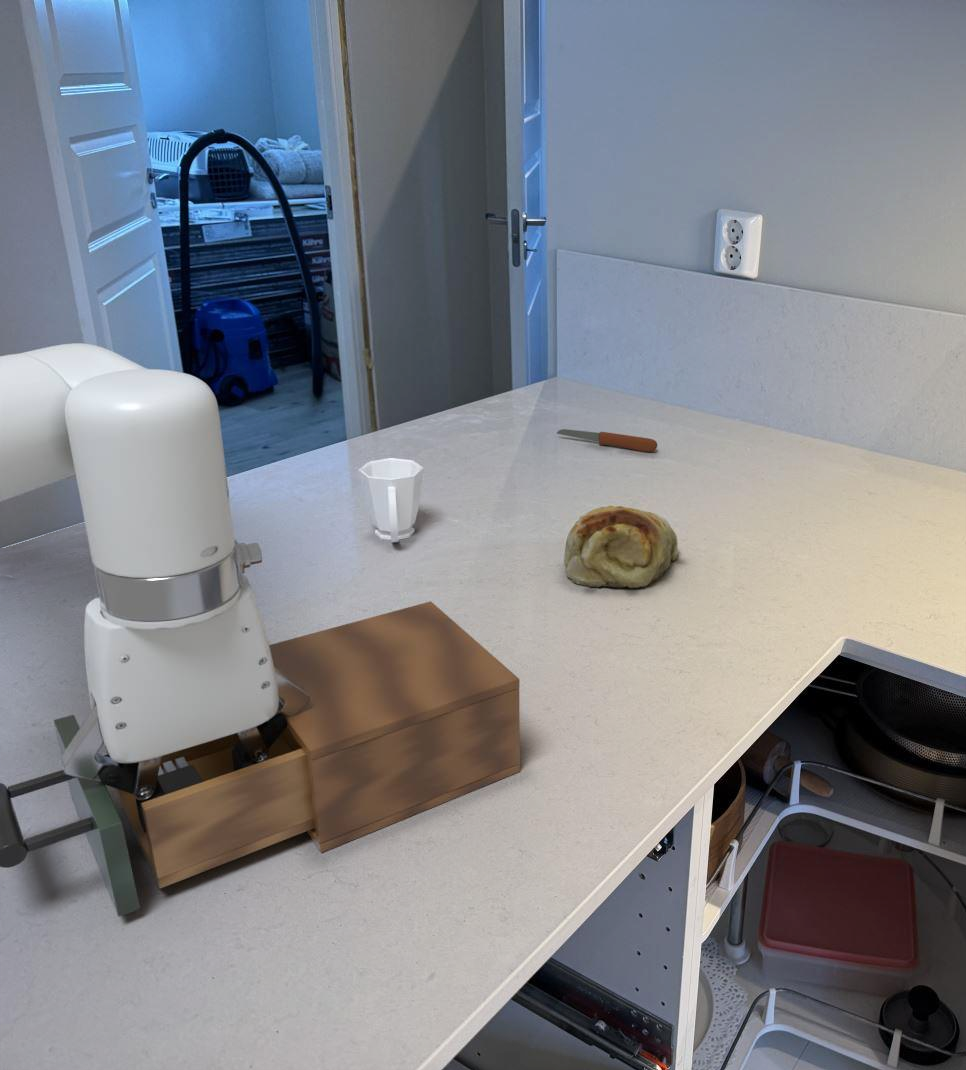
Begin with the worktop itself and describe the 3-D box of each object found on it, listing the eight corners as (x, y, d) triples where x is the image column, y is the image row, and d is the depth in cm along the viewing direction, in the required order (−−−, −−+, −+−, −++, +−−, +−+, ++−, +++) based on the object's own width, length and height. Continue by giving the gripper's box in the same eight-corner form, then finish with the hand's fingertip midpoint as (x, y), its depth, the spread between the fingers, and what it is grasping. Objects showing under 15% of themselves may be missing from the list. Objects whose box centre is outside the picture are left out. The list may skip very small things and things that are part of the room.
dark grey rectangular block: (229, 842, 66) (223, 805, 64) (179, 860, 64) (173, 824, 62) (185, 765, 72) (179, 731, 71) (139, 780, 70) (132, 745, 69)
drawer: (21, 956, 57) (-4, 865, 55) (-15, 828, 66) (-38, 745, 64) (351, 824, 70) (343, 744, 67) (283, 731, 79) (274, 657, 76)
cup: (424, 519, 120) (422, 456, 116) (428, 554, 111) (425, 488, 108) (363, 522, 118) (359, 458, 114) (362, 558, 109) (357, 490, 106)
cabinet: (321, 853, 68) (309, 750, 65) (250, 747, 78) (237, 653, 74) (520, 771, 78) (519, 678, 74) (434, 686, 87) (431, 600, 84)
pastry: (581, 600, 104) (583, 531, 101) (547, 551, 114) (547, 487, 111) (702, 583, 110) (708, 517, 107) (659, 538, 120) (663, 476, 117)
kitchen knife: (657, 451, 149) (658, 438, 148) (655, 454, 148) (655, 441, 147) (558, 437, 151) (558, 424, 150) (555, 439, 150) (555, 427, 149)
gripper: (292, 528, 67) (313, 747, 75) (-10, 586, 57) (49, 834, 64) (334, 571, 62) (352, 801, 70) (10, 643, 52) (72, 905, 59)
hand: (206, 814), depth 67 cm, fingers open, 4 cm apart
